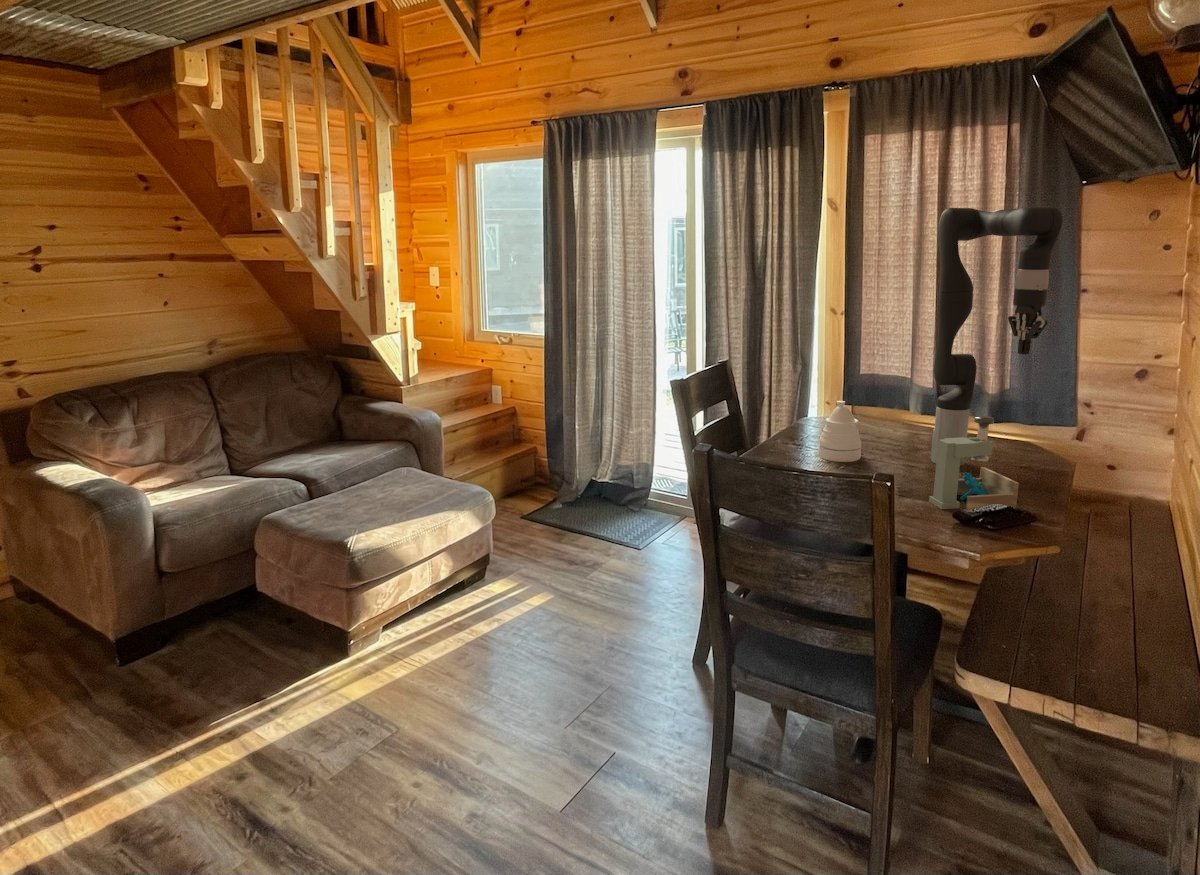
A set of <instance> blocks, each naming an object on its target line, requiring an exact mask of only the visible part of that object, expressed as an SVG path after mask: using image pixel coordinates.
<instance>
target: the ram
mask: <svg viewBox="0 0 1200 875" xmlns="http://www.w3.org/2000/svg"><path fill="white" fill-rule="evenodd" d="M994 421H995V418H994V417H993V416H989V415H975V416H974V423H976V424H978V425H977V434H976V437H977V442H979V441H988V435H989V429H990V428H989V427H990V425H991V424H992V425H993V424H994V423H995V422H994ZM989 458H990V457H989V455H983V456H977V457H970V460H971V461H973V462H977V463H988V462H989Z"/></svg>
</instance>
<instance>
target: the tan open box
mask: <svg viewBox="0 0 1200 875" xmlns="http://www.w3.org/2000/svg"><path fill="white" fill-rule="evenodd" d="M975 478H976V479H977V480H978V481H977V483H979V482H981V483H982V484H983V487H984V490H986V491H987V492H988V494H989V495H977V494H975V495H970V496H967V498H966V506H965V511H966V510H970V509H975V508H979V507H982V506H987V505H991V504H1004V505H1008V506H1011V507H1013V508H1016V509H1017V501H1018V496H1019V495H1018V493H1019V486H1020V482H1018V481H1015V480H1013V479H1011V478H1009V477H1007V476H1004V475H1002V474H1001V473H999V472H996V471H994V470H992V469H990V468H988V467H985V466H981V467H980V472H979V477H975ZM965 482H966V480H964V479H963V478H958V488H957V495H958V496H959V495H965V494H966V493H967V492H969V490H970V489H971V487H969V486H967V485H966V483H965Z"/></svg>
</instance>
